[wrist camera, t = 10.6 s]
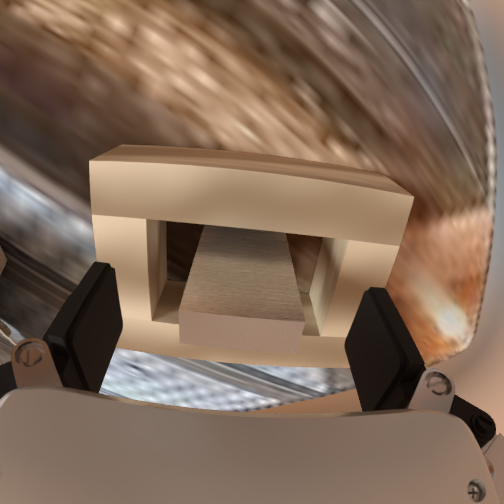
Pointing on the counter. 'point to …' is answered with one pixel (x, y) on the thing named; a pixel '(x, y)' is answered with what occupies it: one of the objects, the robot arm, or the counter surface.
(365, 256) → the well block
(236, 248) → the wood grain block
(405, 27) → the counter surface
